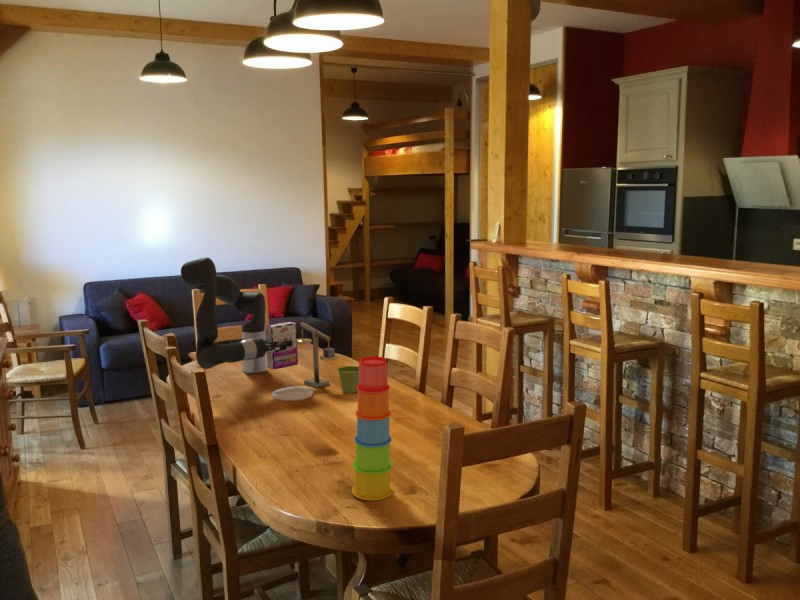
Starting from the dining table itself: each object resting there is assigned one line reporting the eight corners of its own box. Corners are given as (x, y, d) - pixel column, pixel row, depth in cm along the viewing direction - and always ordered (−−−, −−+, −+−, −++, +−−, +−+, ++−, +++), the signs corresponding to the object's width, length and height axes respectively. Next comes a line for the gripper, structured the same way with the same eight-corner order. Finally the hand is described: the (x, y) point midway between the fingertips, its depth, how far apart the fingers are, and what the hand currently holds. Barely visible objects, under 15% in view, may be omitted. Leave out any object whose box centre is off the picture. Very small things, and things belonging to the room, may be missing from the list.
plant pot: (364, 388, 274) (364, 365, 272) (361, 395, 265) (360, 372, 263) (340, 387, 275) (339, 365, 273) (335, 394, 265) (335, 372, 264)
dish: (264, 395, 266) (263, 393, 266) (295, 387, 277) (295, 384, 276) (289, 403, 256) (289, 400, 256) (321, 394, 267) (321, 391, 266)
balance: (291, 381, 285) (289, 322, 281) (305, 377, 290) (303, 320, 286) (329, 391, 270) (327, 329, 266) (343, 387, 275) (341, 326, 271)
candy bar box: (291, 362, 279) (289, 321, 277) (298, 365, 276) (297, 322, 273) (266, 367, 272) (264, 324, 270) (273, 370, 268) (271, 326, 266)
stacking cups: (394, 484, 185) (392, 353, 180) (391, 501, 175) (388, 363, 170) (354, 483, 186) (351, 353, 181) (349, 501, 176) (345, 363, 170)
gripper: (261, 341, 257) (298, 334, 269) (238, 336, 267) (275, 329, 279) (262, 362, 258) (299, 354, 270) (239, 356, 268) (276, 348, 280)
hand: (287, 342), depth 274 cm, fingers closed on candy bar box, 5 cm apart
